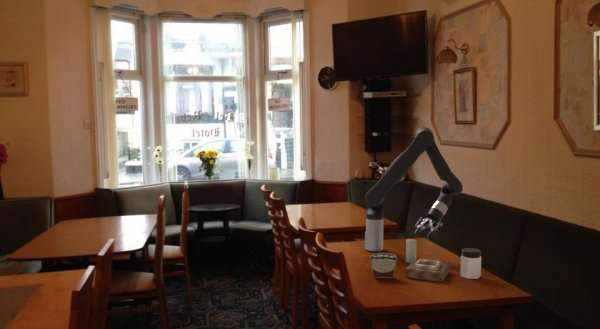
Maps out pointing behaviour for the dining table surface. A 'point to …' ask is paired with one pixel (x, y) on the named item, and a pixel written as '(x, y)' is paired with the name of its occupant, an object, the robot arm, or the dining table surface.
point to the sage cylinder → (410, 250)
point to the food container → (383, 265)
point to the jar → (471, 263)
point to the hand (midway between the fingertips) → (421, 236)
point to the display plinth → (427, 270)
